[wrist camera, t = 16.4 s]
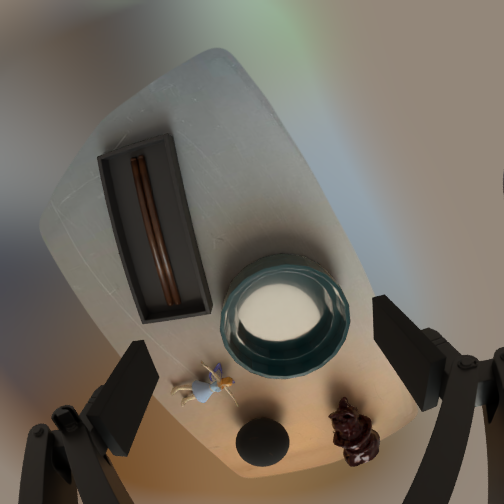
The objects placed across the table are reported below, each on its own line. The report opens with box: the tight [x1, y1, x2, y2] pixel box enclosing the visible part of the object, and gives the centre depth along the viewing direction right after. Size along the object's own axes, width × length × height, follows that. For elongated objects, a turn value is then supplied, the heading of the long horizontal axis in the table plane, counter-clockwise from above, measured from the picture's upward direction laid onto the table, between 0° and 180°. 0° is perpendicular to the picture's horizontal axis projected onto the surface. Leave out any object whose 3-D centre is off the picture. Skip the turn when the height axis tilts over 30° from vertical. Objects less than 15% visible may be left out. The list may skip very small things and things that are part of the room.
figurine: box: [328, 397, 380, 467], centre depth 49 cm, size 10×10×18 cm
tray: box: [97, 133, 213, 324], centre depth 42 cm, size 11×26×3 cm, turn 12°
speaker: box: [236, 418, 289, 467], centre depth 48 cm, size 10×10×10 cm
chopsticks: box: [130, 155, 181, 306], centre depth 42 cm, size 23×2×1 cm, turn 12°
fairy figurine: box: [171, 362, 239, 407], centre depth 48 cm, size 12×5×12 cm
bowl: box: [220, 254, 350, 379], centre depth 44 cm, size 18×18×6 cm
